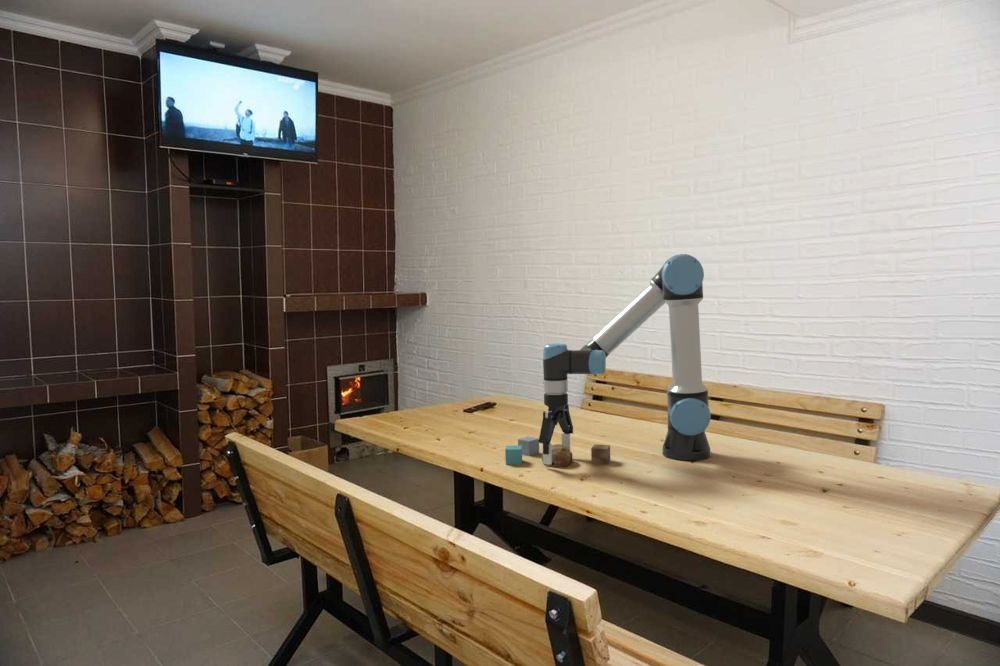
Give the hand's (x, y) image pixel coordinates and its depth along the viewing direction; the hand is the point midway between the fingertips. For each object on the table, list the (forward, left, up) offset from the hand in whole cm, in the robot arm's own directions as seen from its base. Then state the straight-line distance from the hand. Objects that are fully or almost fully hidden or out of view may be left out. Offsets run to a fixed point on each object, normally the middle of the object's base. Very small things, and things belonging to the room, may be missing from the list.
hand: (557, 458), depth 224 cm
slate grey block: (+14, -7, -2) cm, 16 cm away
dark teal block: (+13, +5, -2) cm, 14 cm away
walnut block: (-12, -7, -2) cm, 14 cm away
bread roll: (0, 0, -2) cm, 2 cm away
